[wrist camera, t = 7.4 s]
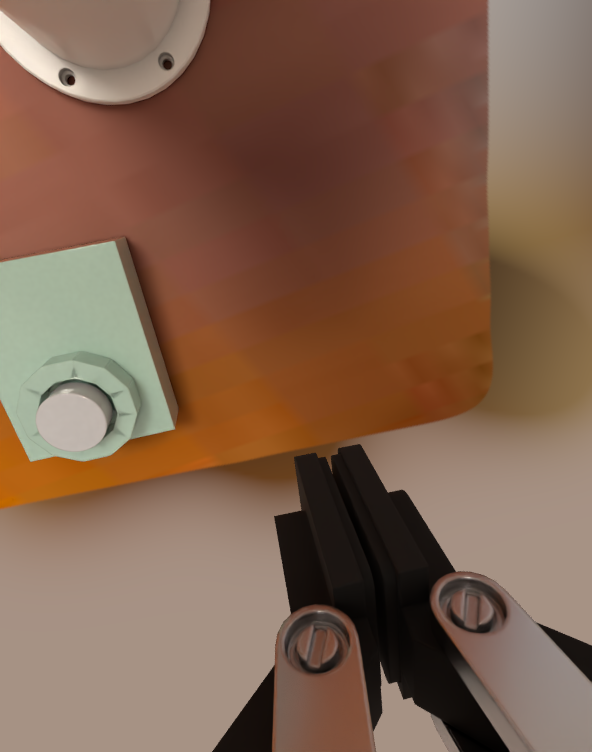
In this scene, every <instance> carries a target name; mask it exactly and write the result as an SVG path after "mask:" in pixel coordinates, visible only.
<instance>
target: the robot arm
mask: <svg viewBox="0 0 592 752" xmlns="http://www.w3.org/2000/svg"><path fill="white" fill-rule="evenodd" d="M210 1H211V0H0V45H1V46H2V47H3V49H4V50H5V51H6V52H7V53H8V54H9V55H10V56H11V57H12V58H13V59H14V60H16V61H17V62H18V63H19V64H20V65H21V66H22V67H23V68H24V69H25V70H26V71H28V72H29V73H31V74H32V75H33V76H35V77H36V78H38V79H39V80H41V81H42V82H44V83H46V84H47V85H49V86H50V87H52V88H54V89H56V90H58V91H59V92H61V93H63V94H66V95H68V96H71V97H74V98H77V99H80V100H82V101H85V102H91V103H97V104H104V105H118V104H130V103H134V102H137V101H141V100H144V99H148V98H150V97H152V96H154V95H155V94H157V93H159V92H161V91H163V90H164V89H166V88H167V87H168V86H170V85H171V84H172V83H173V82H174V81H175V80H176V79H177V78H178V77H180V76H181V75H182V73H183V72H184V71H185V69H186V68H187V67H188V65H189V64H190V62H191V61H192V60H193V58H194V57H195V54H196V52H197V50H198V48H199V46H200V43H201V41H202V39H203V37H204V33H205V29H206V25H207V21H208V17H209V13H210ZM165 61H170V62H171V63H172V67H171V69H169V70H167V69H165V68H164V67H163V64H164V62H165ZM70 76H74V78H75V83H74V84H73V85H69V84H68V81H67V79H68V77H70ZM294 461H295V468H296V475H297V482H298V489H299V496H300V503H301V509H302V511H298V512H293V513H288V514H283V515H278V516H274V518H275V524H276V529H277V535H278V541H279V547H280V553H281V559H282V564H283V570H284V576H285V582H286V587H287V593H288V599H289V605H290V611H291V615H290V616H289V617H288V618H287V619H286V620H285V621H284V622H283V624H282V626H281V628H280V630H279V631H278V634H277V639H276V644H275V665H274V667H273V668H272V670H271V671H270V672H269V674H268V675H267V677H266V678H265V679H264V680H263V682H262V683H261V685H260V686H259V687H258V689H257V691H256V692H255V693H254V694H253V696H252V697H251V699H250V700H249V701H248V703H247V704H246V706H245V707H244V708H243V710H242V711H241V712H240V714H239V715H238V717H237V718H236V719H235V721H234V722H233V724H232V725H231V726H230V728H229V729H228V731H227V732H226V733H225V735H224V736H223V737H222V739H221V740H220V742H219V743H218V745H217V746H216V747H215V749H214V750H213V751H212V752H376V748H375V742H374V735H373V731H374V729H375V726H376V725H377V722H378V721H379V718H380V716H381V714H382V700H381V670H380V662H381V665H382V667H383V670H384V674H385V676H386V679H387V681H388V683H389V684H390V683H394V682H397V683H398V686H399V689H400V691H401V694H402V697H403V699H407V698H411V697H412V698H413V701H414V703H415V704H416V705H417V706H419V707H421V708H422V709H424V710H426V711H428V712H429V713H431V717H432V720H433V722H434V725H435V727H436V729H437V731H438V733H439V735H440V737H441V739H442V740H443V742H444V744H445V746H446V747H447V749H448V751H449V752H592V646H591V645H589V644H587V643H584V642H582V641H580V640H577V639H575V638H572V637H570V636H567V635H565V634H563V633H560V632H558V631H555V630H553V629H551V628H548V627H546V626H543V625H541V624H539V623H536V622H535V621H534V620H533V619H532V618H531V617H530V616H529V615H528V614H527V612H526V611H525V610H524V609H523V608H522V607H521V606H520V605H519V604H518V603H517V602H516V601H515V600H514V598H513V597H512V596H511V595H510V594H509V593H508V592H507V591H506V590H505V589H504V588H503V587H501V586H500V585H499V584H498V583H497V582H495V581H494V580H492V579H490V578H488V577H486V576H484V575H481V574H477V573H473V572H461V571H460V572H456V571H455V570H454V568H453V566H452V565H451V563H450V562H449V560H448V558H447V557H446V555H445V554H444V552H443V550H442V549H441V547H440V545H439V544H438V542H437V541H436V539H435V538H434V536H433V534H432V533H431V531H430V529H429V528H428V526H427V525H426V523H425V521H424V520H423V518H422V517H421V515H420V514H419V512H418V510H417V509H416V507H415V506H414V504H413V502H412V501H411V499H410V497H409V496H408V494H407V493H406V492H405V491H404V490H399V491H394V492H389V493H388V492H387V491H386V489H385V487H384V485H383V483H382V482H381V480H380V478H379V476H378V475H377V473H376V471H375V469H374V467H373V466H372V464H371V462H370V460H369V459H368V457H367V455H366V453H365V451H364V450H363V448H362V446H361V445H360V444H358V445H353V446H348V447H342V448H339V449H338V454H337V455H332V456H331V463H332V472H331V469H330V467H329V465H328V462H327V460H326V458H325V457H321V458H318V457H317V454H316V453H311V454H306V455H301V456H296V457H294ZM332 473H333V474H332Z"/></svg>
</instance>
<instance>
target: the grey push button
mask: <svg viewBox="0 0 592 752" xmlns="http://www.w3.org/2000/svg"><path fill="white" fill-rule="evenodd" d="M112 416H113V410H112V406H111V403H110V401H109V399H108V398H107V396H106V395H105V394H104V393H103V392H102V391H100V390H99V389H98V388H96V387H94V386H92V385H89V384H86V383H80V382H71V383H66V384H63V385H60V386H59V387H57V388H55V389H54V390H53V391H52V392H51V393H50V394H49V395H48V396H47V398H46V399H45V400H44V401H43V402H42V404H41V405H40V406H39V408H38V410H37V413H36V426H37V429H38V432H39V433H40V435H41V436H42V438H43V439H44V440H45V441H46V442H47V443H49V444H50V445H52V446H53V447H55V448H58V449H60V450H64V451H69V452H80V451H85V450H88V449H90V448H92V447H94V446H96V445H97V444H98V443H99V442H100V441H101V440H102V439H103V438H104V436H105V434H106V432H107V429H108V427H109V425H110V423H111V421H112Z"/></svg>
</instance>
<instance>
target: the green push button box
mask: <svg viewBox="0 0 592 752" xmlns="http://www.w3.org/2000/svg"><path fill="white" fill-rule="evenodd" d="M71 382H80V383H86V384H89V385H92V386H94V387H96V388H98V389H99V390H100V391H102V392H103V393H104V394H105V395H106V396H107V398H108V399H109V401H110V403H111V406H112V410H113V416H112V421H111V423H110V425H109V427H108V429H107V432H106V434H105V436H104V438H103V439H102V440H101V441H100V442H99V443H98V444H97V445H96V446H94V447H92V448H90V449H88V450H85V451H80V452H69V451H64V450H60V449H58V448H55V447H53V446H52V445H50V444H49V443H47V442H46V441H45V440H44V439H43V438H42V436H41V435H40V433H39V432H38V429H37V426H36V413H37V410H38V408H39V406H40V405H41V404H42V402H43V401H44V400H45V399H46V398H47V396H48V395H49V394H50V393H51V392H52V391H53V390H54V389H55V388H57V387H59V386H60V385H63V384H66V383H71ZM0 400H1V402H2V404H3V406H4V408H5V410H6V412H7V415H8V417H9V419H10V421H11V423H12V425H13V427H14V429H15V431H16V433H17V435H18V437H19V439H20V441H21V443H22V445H23V447H24V449H25V451H26V453H27V456H28V458H29V460H30V461H31V462H32V461H36V460H41V459H45V458H49V457H54V456H57V457H62V458H67V459H72V460H77V461H88V460H93V459H97V458H101V457H106V456H110V455H112V454H113V453H114V452H116V451H117V450H118V449H119V448H120V447H121V446H122V445H124V444H125V443H126V442H127V441H128V440H129V439H134V438H138V437H143V436H147V435H151V434H156V433H160V432H165V431H169V430H174V429H175V426H176V421H177V415H178V410H179V409H178V405H177V402H176V399H175V396H174V392H173V389H172V386H171V383H170V380H169V376H168V373H167V370H166V367H165V364H164V360H163V357H162V354H161V351H160V347H159V344H158V341H157V338H156V335H155V331H154V328H153V325H152V322H151V318H150V315H149V312H148V309H147V306H146V302H145V299H144V296H143V293H142V289H141V286H140V283H139V280H138V277H137V273H136V270H135V267H134V264H133V260H132V257H131V254H130V251H129V248H128V244H127V241H126V238H125V236H123V237H118V238H113V239H107V240H102V241H97V242H91V243H86V244H81V245H76V246H70V247H65V248H60V249H54V250H49V251H44V252H39V253H33V254H28V255H23V256H17V257H12V258H7V259H2V260H0Z"/></svg>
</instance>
